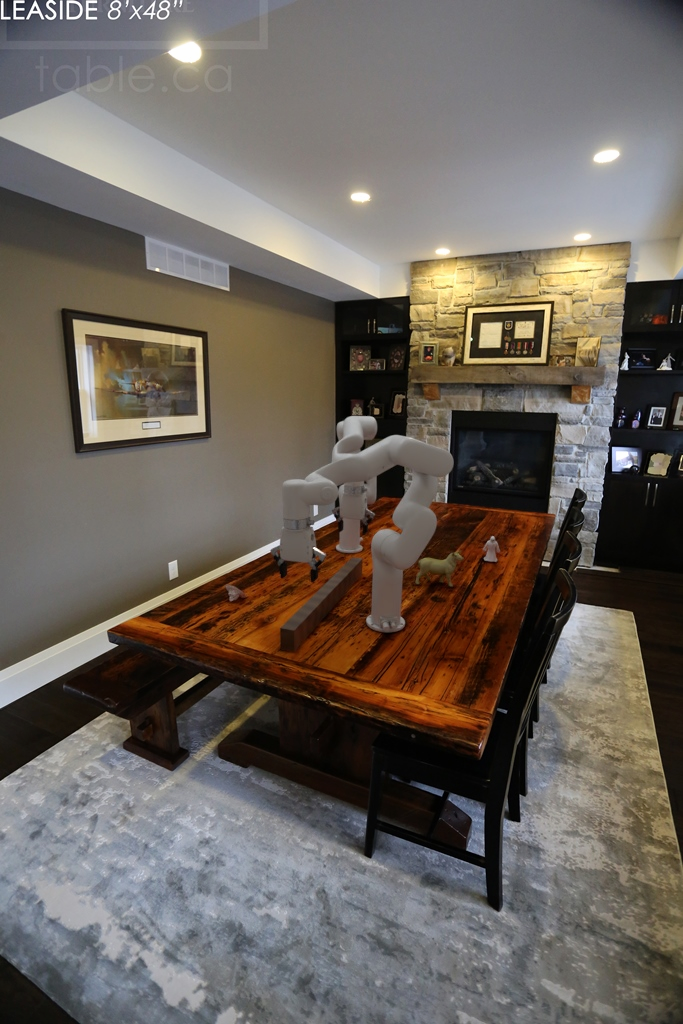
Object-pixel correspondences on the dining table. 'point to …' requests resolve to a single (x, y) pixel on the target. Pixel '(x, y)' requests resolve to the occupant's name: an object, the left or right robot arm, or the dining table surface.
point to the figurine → (491, 550)
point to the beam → (319, 606)
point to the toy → (439, 567)
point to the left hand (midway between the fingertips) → (352, 532)
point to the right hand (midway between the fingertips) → (298, 578)
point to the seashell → (234, 592)
